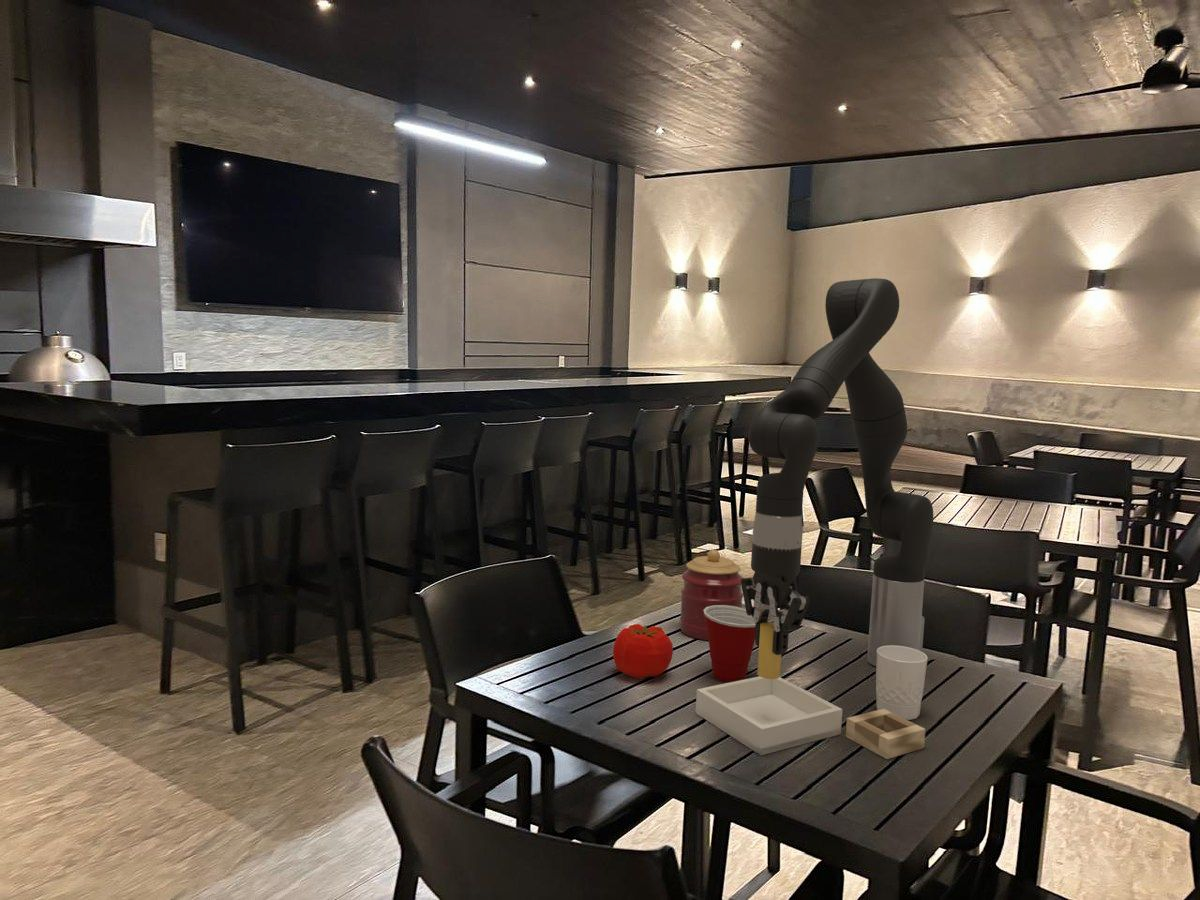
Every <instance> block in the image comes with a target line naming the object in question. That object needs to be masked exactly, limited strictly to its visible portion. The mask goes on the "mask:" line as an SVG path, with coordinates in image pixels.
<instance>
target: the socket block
mask: <svg viewBox="0 0 1200 900" xmlns="http://www.w3.org/2000/svg"><path fill="white" fill-rule="evenodd" d="M845 726H846V727H845V729H846V730H845V737H846V738H847V739H849V740H851V741H853V742H854V743H857V744H858V745H860V746H862V747H863V748H865V749H867V750H869V751H870V752H872V753H875V754H876V755H878V756H879V757H882V758H884V759H886V760H890V759H892V758H895V757H898V756H902V755H905V754H909V753H911V752H916V751H919V750H922V749H924V748H925V741H926V740H925V739H926V728H924V727H923V726H921V725H918V724H916V723H914V722H912V721H911V720H910V721H909V720H906V719H904V718H902V717H900V716H898V715H896V714H893V713H891V712H889V711H887V710H885V709H880V710H877V709H876V710H873V711H869V712H865V713H862V714H861V713H860V714H857V715H854V716H849V717H847V718H846V725H845Z"/></svg>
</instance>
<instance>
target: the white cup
mask: <svg viewBox="0 0 1200 900" xmlns="http://www.w3.org/2000/svg"><path fill="white" fill-rule="evenodd" d="M928 659H929V658H928V655H927V654H926V653H925V652H923V651H922V652H921V651H919V650H916V649H913V648H909V647H904V646H893V645H890V646H882V647H879V648H878V649H877V661H876V666H875V667H876V668H875V693H876V699H875V700H876V706H875V707H876V710H880V709H885V710H887V711H889V712H891V713H893V714H896V715H898V716H900V717H902V718H904V719H906V720H908V721H909V720H910V721H911V720H915V719H917V718H918V717H919V716H920V714H921V706H922V699H923V696H924V695H923V694H924V688H925V682H926V673H927V665H928Z"/></svg>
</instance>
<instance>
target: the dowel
mask: <svg viewBox="0 0 1200 900" xmlns="http://www.w3.org/2000/svg"><path fill="white" fill-rule="evenodd" d="M774 631H775V629H774V621H767V622H763V623H761V624H760V638H759V646H758V655H757V656H758V659H757V675H758V676H757V677H759V676H760V677H762V678H766V679H777V678H779V677H780V678H781V667H782V665H781V664H782V654H781V655H776V654H774V653H773V652H772V650H773V634H774Z"/></svg>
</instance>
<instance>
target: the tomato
mask: <svg viewBox="0 0 1200 900" xmlns="http://www.w3.org/2000/svg"><path fill="white" fill-rule="evenodd" d="M673 647H674V646H673V643H672V641H671V638H670V637H669V636H668V635H667V634H666V632H665V631H664V630H663V628H662V627H660V626H654V625H652V626H650V627H648V628H647V625H641V624H639V623H635V624H630V625H629V626H627V627H623V628H622V629H621V630H620V631H619V633H618V634H617V636H616V638H615V639H614V643H613V649H612V655H613V656H612V657H613V661H614V665H615V666H616V668H617V669H618V671H620V673H623V674H625V675H627V676H630V677H632V678H635V679H645V678H646V677H653V678H656V677H658V676H660V675H661V674H663V673H664V672H665V671H666V670H667V669H668V668H669V666H670V665H671V661H672V658H673V655H674V654H673V653H674V648H673Z"/></svg>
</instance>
